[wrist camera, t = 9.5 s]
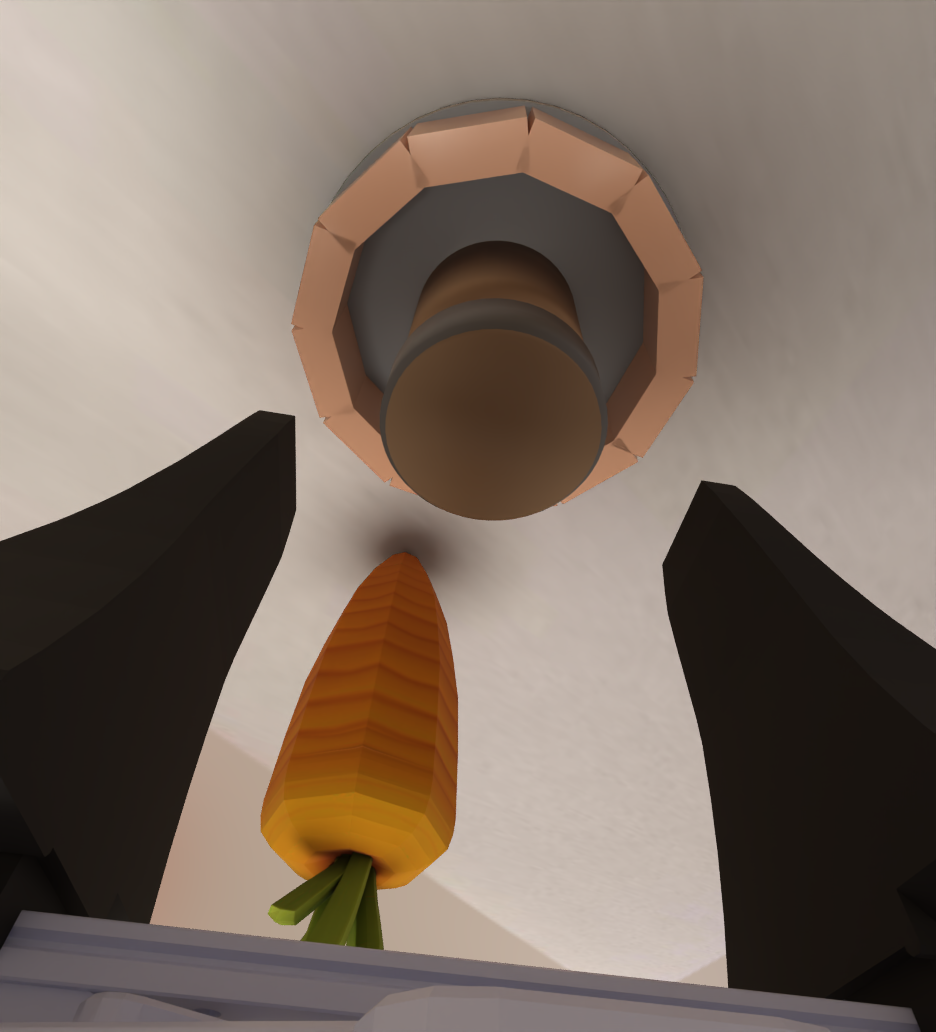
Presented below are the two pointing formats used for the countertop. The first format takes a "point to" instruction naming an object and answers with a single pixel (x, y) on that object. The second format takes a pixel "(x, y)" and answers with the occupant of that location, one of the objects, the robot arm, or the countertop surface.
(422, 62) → the countertop surface
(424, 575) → the carrot
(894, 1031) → the robot arm
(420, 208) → the coaster
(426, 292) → the walnut pepper mill
